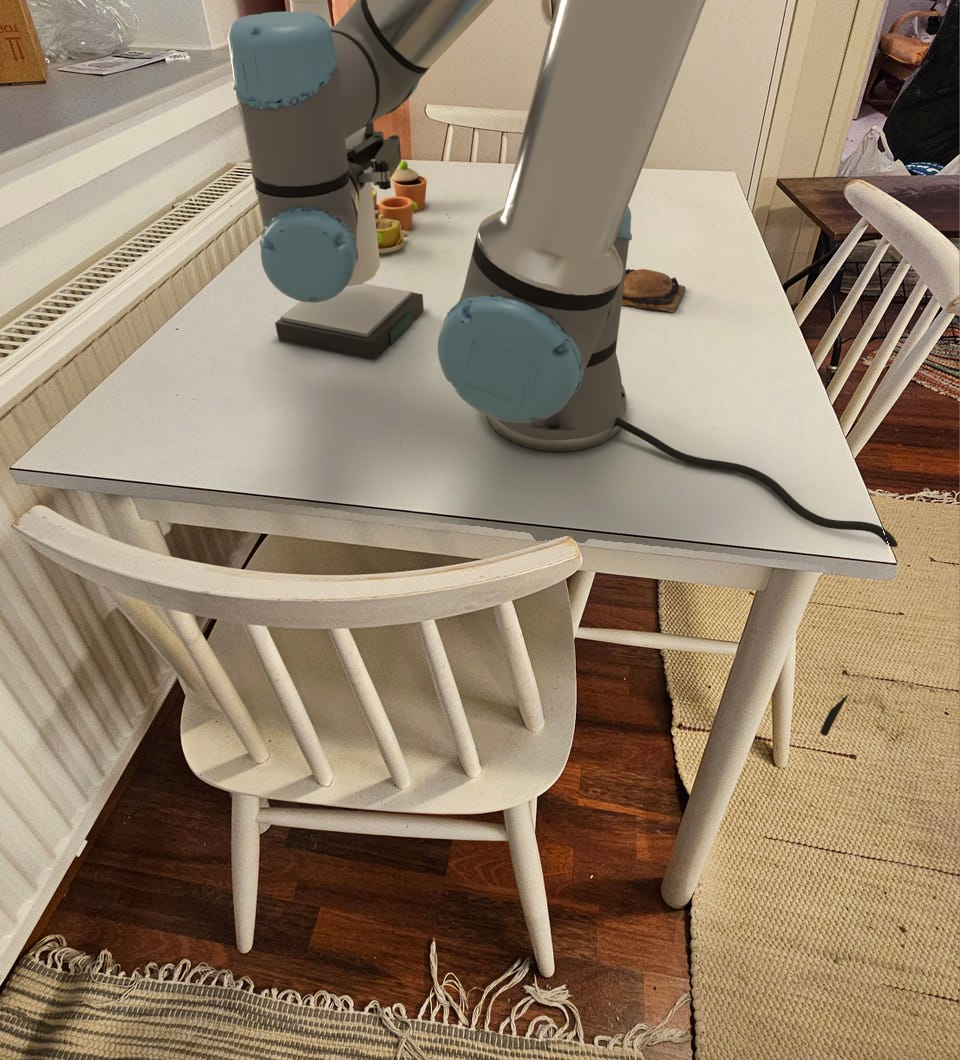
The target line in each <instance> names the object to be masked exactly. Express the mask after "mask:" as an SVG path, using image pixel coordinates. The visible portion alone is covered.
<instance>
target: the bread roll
mask: <svg viewBox="0 0 960 1060" xmlns="http://www.w3.org/2000/svg"><path fill="white" fill-rule="evenodd" d="M685 291H686V286H685V285H681V284H679V282H678V280H677V278H676V277H672V278H671V277H670V276H669V275H668V274H666V273H663V272H661V271H656V270H651V269H645V268H640V269H630V268H626V271H625V280H624V288H623V297H622V305H621V306H628V305H629V306H632V307H635V308H638V309H650V310H657V311H659V310H661V311H664V312H669V313H672V314H673V313H674V312H676V310H677V308H678V306H679V304H680V302H681V299H682V298H683V296H684V294H685Z"/></svg>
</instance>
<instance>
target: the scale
mask: <svg viewBox="0 0 960 1060" xmlns="http://www.w3.org/2000/svg"><path fill="white" fill-rule="evenodd" d="M424 309H425V308H424V295H423V293H417V292H412V291H409V290H403V289H399V288H392V287H388V286H387V287H386V286H382V285H381V286H380V285H376V284H370V283H369V284H368V283H365V282H364V283H361V284H357V285H351V286H346V287H345V288H344V290H343V291H342V292H341V293H339V294H338V295H337V296H335V297H333V298H331V299H329V300H326V301H322V302H317V303H312V302H302V301H299V302H297V304H295V305H294V306H293V307H291V308H290V309H288V310H286V312H284V313H283V314H281V316H280V318H279V319H278V320H277V321H275V322H274V324H275V329H276V333H277V339H278V341H280V342H285V343H289V344H294V345H299V346H304V347H307V348H312V349H313V348H314V349H318V350H323V351H327V352H328V351H329V352H333V353H338V354H343V355H348V356H353V357H358V358H362V359H368V360H373V361H376V360H377V359H378V358H379V357H380V356H381V355H382V354H383V353H384V352H385V351H386V350H387V349H388V348H389V347H390V346H393V344H395V342H397V340H399V338H400V337H402V336H403V334H404V333H406V331H408V330H409V328H410V327H411V326H412V325H413V323H414V322H415V321H416V320H417V319H418V318H419V317H420V316H421V315H422V314H423V313H424V312H425V310H424Z"/></svg>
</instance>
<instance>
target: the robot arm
mask: <svg viewBox="0 0 960 1060" xmlns="http://www.w3.org/2000/svg"><path fill="white" fill-rule="evenodd" d="M494 1H495V0H355V1H354V3H352V5H351V6H350V8H349V9H347V11H346V12H345V13H344V15H343V16H342V17H341V19H340V20H339V21H338V22H337V23H335V25H332V27H331V28H330V27H329V25H328V23H327V22H326V21H325V19H324V18H322V17H321V16H319V15H317V14H313V13H307V12H291V11H271V12H269V11H268V12H262V13H258V14H249V15H244V16H242V17H239V18H238V19H236V20H234V21H233V23H231V25H230V27H229V29H228V34H227V43H228V49H229V56H230V63H231V69H232V75H233V78H232V79H231V80H232V85H233V91H234V94H235V96H236V100H237V105H238V110H239V115H240V118H241V119H240V120H241V123H242V126H243V132H244V138H245V141H246V146H247V151H248V156H249V160H250V165H251V167H250V171H251V176H252V181H253V182H252V183H253V185H254V191H255V195H256V196H257V202H258V207H259V211H260V217H261V223H262V227H263V230H262V232H261V238H260V239H259V247H260V260H261V266H262V268H263V272H264V273H265V275H266V277H267V279H268V280H269V282H270V283H271V284H272V286H274V288H275V289H277V290H278V291H279V292H280V293H282V294H283V295H285V296H287V297H288V298H291V299H292V300H295V301H299V302H300V301H302V302H312V303H317V302H322V301H326V300H329V299H331V298H333V297H335V296H337V295H338V294H339V293H341V292H342V291H343V290H344V288H345V287H346V286H347V285H348V283H349V281H350V280H351V277H352V275H353V271H354V267H355V265H356V261H357V260H358V251H357V247H356V234H357V221H358V209H359V191H360V190H361V189H363V188H364V186H365V183H369V182H372V186H374V187H376V186H378V188H379V189H380V190H385V191H386V190H388V189H392V184H391V183H392V182H391V181H392V180H391V177H392V175H393V174H394V172H395V170H396V169H398V167H399V164H400V162H401V161H402V153H401V152H402V151H401V139H400V135H397V134H392V135H390V136H388V137H387V139H385V137H384V132H383V131H382V130H381V131H375V129H374V122H375V121H376V120H378V119H380V118H381V117H383V116H386V115H388V114H391V113H394V112H395V111H396V110H398V109H399V108H400V107H401V106H403V104H405V103H406V102H407V101H408V100H409V99H410V97H411V96H412V95H413V94H414V92H415V91H416V90H417V88H418V86H419V83H420V80H421V79H422V77H424V75H426V73H428V70H430V68H431V67H432V66H433V65H434V64H435V63H436V62H437V61H438V60H439V59H440V58H441V57H442V55H443V54H444V53H445V52H446V51H447V50H448V49H449V48H450V47H451V46H452V45H453V44H455V42H456V41H457V40H458V39H459V38H460V37H461V36H462V35H463V33H464V32H465V31H466V30H467V29H468V28H469V27H470V26H472V24H473V23H474V22H475V21H476V20H477V19H478V17H480V16H481V14H482V13H483V12H484V11H486V9H487V8H488V7H489V6H490V5H491V4H492V3H493V2H494ZM706 2H707V0H557V1H556V5H555V8H554V12H553V17H552V20H551V23H550V24H551V25H550V27H549V32H548V35H547V36H548V37H547V39H546V44H545V47H544V51H543V55H542V59H541V62H540V63H541V64H540V66H539V71H538V74H537V78H536V83H535V86H534V90H533V94H532V98H531V101H530V105H529V110H528V114H527V117H526V121H525V125H524V129H523V134H522V137H521V141H520V144H519V149H518V152H517V156H516V160H515V164H514V168H513V171H512V176H511V179H510V183H509V187H508V191H507V195H506V199H505V203H504V206H503V208H502V209H501V210H499V211H496V212H494V213H493V214H491V215H489V216H487V217H485V218H484V219H483V220H482V221H481V222H480V224H479V226H478V229H477V231H476V232H477V233H476V235H475V240H474V243H473V244H474V245H473V248H472V252H471V255H470V260H469V265H468V268H467V271H466V272H467V273H466V276H465V282H464V284H463V289H462V292H461V295H460V297H459V300H458V302H457V303H456V304H455V305H453V306H452V308H450V309H449V311H448V312H447V313H446V316H445V317H444V319H443V322H442V326H441V328H440V330H439V334H438V337H437V338H438V339H437V356H438V361H439V365H440V368H441V371H442V373H443V376H444V377H445V380H446V381H447V382H449V384H451V385H452V386H453V387H454V389H455V393H456V394H457V395H458V396H459V397H460V398H461V400H463V401H464V402H465V403H467V404H468V405H469V406H470V407H472V408H473V409H475V410H476V411H478V412H479V413H481V414H483V415H486V416H487V419H488V422H489V424H490V425H491V426H492V428H493V429H494V430H495V431H496V432H497V433H498V434H499V435H501V436H502V437H504V438H505V439H507V440H509V441H510V442H512V443H514V444H516V445H519V446H522V447H526V448H528V449H534V450H538V451H545V452H558V453H559V452H574V451H581V450H585V449H586V450H587V449H589V448H593V447H597V446H598V445H601V444H603V443H605V442H607V441H609V440H610V439H612V438H613V437H614V436H615V435H617V434H618V432H619V431H620V430H624V431H626V432H628V433H630V434H631V435H634V436H635V437H637V438H639V439H641V440H642V441H645V442H647V443H648V444H650V445H651V446H653V447H655V448H656V449H658V450H659V451H661V452H662V453H664V454H666V455H668V456H669V457H671V458H673V459H676V460H678V461H681V462H684V463H687V464H690V465H693V466H699V467H704V468H709V469H715V470H716V469H717V470H724V471H729V472H734V473H740V474H742V475H745V476H748V477H750V478H752V479H755V480H757V481H758V482H760V483H762V484H764V485H765V486H766V487H768V488H769V489H770V490H771V491H772V492H774V494H775V495H777V496H778V498H779V499H780V500H781V501H782V502H783V503H784V504H785V505H786V506H787V507H788V508H789V509H790V510H792V511H793V512H794V513H796V514H797V515H798V516H800V517H801V518H803V519H805V520H806V521H808V522H810V523H812V524H814V525H817V526H819V527H823V528H827V529H833V530H843V531H844V530H846V531H861V532H867V533H871V534H874V535H876V536H877V537H879V538H880V540H882V541H883V542H884V543H885V544H886V545H887V546H889V547H891V548H897V547H899V544H898V542H897V541H896V538H895V537H894V536H893V535H892V534H891V533H890V531H888V530H887V529H886V528H884V527H882V526H880V525H877V524H875V523H872V522H867V521H861V520H860V521H859V520H858V521H857V520H842V519H841V520H838V519H830V518H827V517H823V516H820V515H818V514H816V513H814V512H812V511H810V510H809V509H807V508H806V507H805V506H803V505H801V503H799V502H798V501H797V500H796V499H795V498H794V497H792V495H791V494H789V492H787V490H785V488H784V487H783V486H782V485H780V483H778V482H777V481H776V480H774V479H773V478H771V477H770V476H769V475H767V474H765V473H764V472H761V471H759V470H757V469H755V468H752V467H750V466H746V465H744V464H740V463H736V462H730V461H723V460H716V459H711V458H710V459H709V458H703V457H699V456H695V455H691V454H688V453H685V452H682V451H680V450H678V449H675V448H673V447H672V446H670V445H668V444H667V443H665V442H664V441H662V440H660V439H659V438H657V437H655V436H653V435H652V434H650V433H648V432H647V431H645V430H643V429H641V428H640V427H638V426H635V425H633V424H632V423H629V422H628V421H626V420H625V419H626V413H627V405H628V404H627V394H626V390H625V388H624V385H623V381H622V373H621V368H620V364H619V360H618V356H617V346H618V337H619V331H620V321H621V312H622V306H623V305H622V297H623V288H624V280H625V271H626V270H627V262H628V254H629V245H630V241H632V239H633V234H632V233H631V232H632V211H631V208H630V207H629V205H630V203H631V199H632V197H633V193H634V192H635V189H636V187H637V186H636V185H637V184H638V181H639V178H640V175H641V172H642V170H643V167H644V164H645V163H646V160H647V157H648V154H649V151H650V150H651V149H650V148H651V146H652V143H653V141H654V138H655V136H656V133H657V130H658V128H659V125H660V122H661V119H662V117H663V114H664V112H665V109H666V107H667V104H668V102H669V98H670V96H671V93H672V90H673V88H674V86H675V83H676V80H677V77H678V75H679V73H680V69H681V67H682V64H683V62H684V59H685V56H686V55H687V54H686V53H687V51H688V49H689V46H690V43H691V41H692V38H693V35H694V33H695V30H696V27H697V24H698V22H699V20H700V17H701V14H702V13H703V12H702V11H703V9H704V6H705V4H706ZM365 126H366V130H365V136H366V140H365V141H363V142H362V143H360V144H359V145H357V146H355V147H354V148H352V149H346V143H345V139H346V138H347V137H349V136H351V135H352V134H354V133H355V132H357V131H359V130H360V129H362V128H364V127H365ZM882 528H883V529H882ZM883 530H884V532H885V535H884V533H883ZM886 538H887V539H886ZM887 541H888V543H889V545H888V543H887ZM849 695H850V693H847V694H846V695H845V696H844V697H843V698H842V699H841V700H840V701H838V703H836V704H835V705H834V706H833V707H832V708H831V709H830V710H829V712H828V714H827V716H826V718H825V720H824V722H823V724H822V726H821V728H820V731H819V733H820V734H821V736H825V737H827V736H828V735H829V733H830V731H831V729H832V727H833V725H834V722H835V721H836V719H837V717H838V715H839V713H840V711H841V710H842V707H843V706H844V704H845V702H846V700H847V699H848V697H849Z"/></svg>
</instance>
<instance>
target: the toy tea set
mask: <svg viewBox="0 0 960 1060" xmlns="http://www.w3.org/2000/svg"><path fill="white" fill-rule="evenodd" d="M398 167H399V168H398ZM398 167H397V169H396V170H395V172H394V174H393V175H392V177H391V179H390V181H392V184H393V189H394V193H395V196H389V197H386V198H382V199H381V200H379V201H378V203H377V199H378V193H377V190H376V189H375V188H374V187H373V186H372V192H373V202H374V212H375V221H376V231H377V241H378V250H379V254H387V253H392V252H395V251H398V250H400V249H401V248H403V247H404V245H405V239H404V238H409V236H410V232H409V231H407V230H409V229H411V227H412V226H413V212H416V211H420V210H422V209H423V208H425V206H426V195H427V184H428V183H427V182H428V181H427V180H428V179H427V178H426V177H424V176H422V175H419V173H418V172H417V171H416V170H415V169H413V168H410V167H409V164H408V161H406V160H402V159H401V162H400V164H399V166H398ZM377 216H378V218H376V217H377Z"/></svg>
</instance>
